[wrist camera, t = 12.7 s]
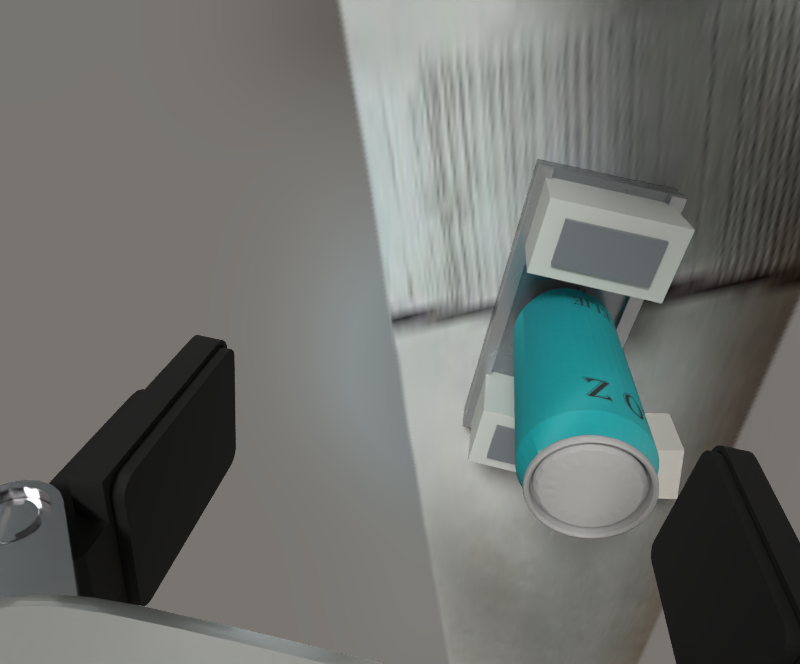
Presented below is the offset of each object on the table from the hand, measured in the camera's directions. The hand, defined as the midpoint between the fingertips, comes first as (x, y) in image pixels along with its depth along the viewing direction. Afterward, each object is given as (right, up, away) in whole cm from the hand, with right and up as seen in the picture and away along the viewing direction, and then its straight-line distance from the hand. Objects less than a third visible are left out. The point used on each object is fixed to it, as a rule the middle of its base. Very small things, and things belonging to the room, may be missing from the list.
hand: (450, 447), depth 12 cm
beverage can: (+9, +3, +25) cm, 26 cm away
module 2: (+10, +8, +21) cm, 25 cm away
